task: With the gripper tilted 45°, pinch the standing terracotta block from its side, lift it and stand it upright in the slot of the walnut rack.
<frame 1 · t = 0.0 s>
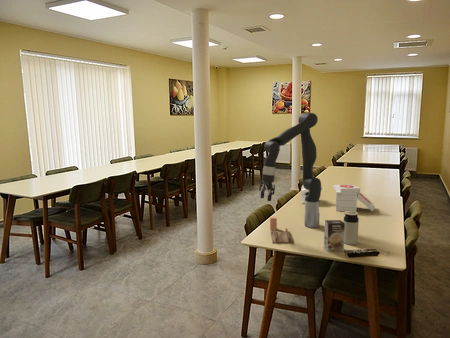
hand: (265, 199, 215), 22 cm above the table, tool pointing down, fingers open, 8 cm apart
terracotta block: (273, 229, 227), on the table
coffee box: (333, 250, 191), on the table
travel mug: (350, 242, 201), on the table
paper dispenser: (353, 209, 270), on the table
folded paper: (311, 201, 297), on the table
walnut rack: (281, 237, 211), on the table
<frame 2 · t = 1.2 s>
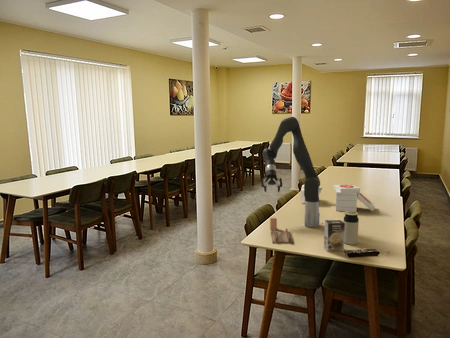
hand: (272, 191, 235), 23 cm above the table, tool tilted 45°, fingers open, 8 cm apart
nothing on the table moved.
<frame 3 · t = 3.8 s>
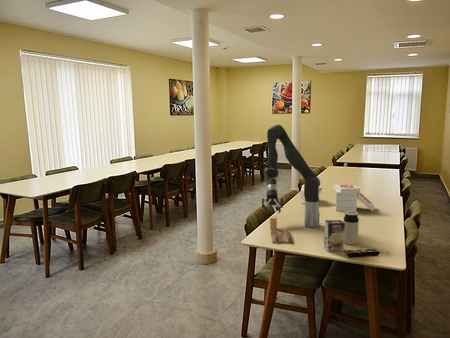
hand: (272, 212, 231), 10 cm above the table, tool tilted 45°, fingers open, 8 cm apart
nothing on the table moved.
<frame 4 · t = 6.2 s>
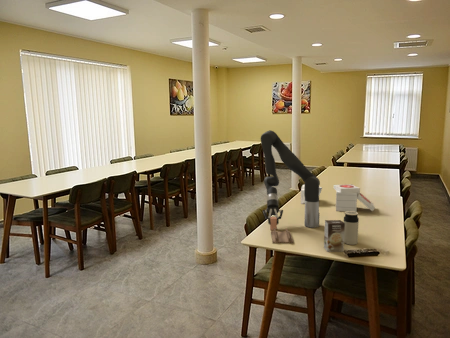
hand: (273, 224, 225), 4 cm above the table, tool tilted 45°, fingers closed on terracotta block, 4 cm apart
terracotta block: (273, 229, 227), on the table, touching gripper
everything else where it was.
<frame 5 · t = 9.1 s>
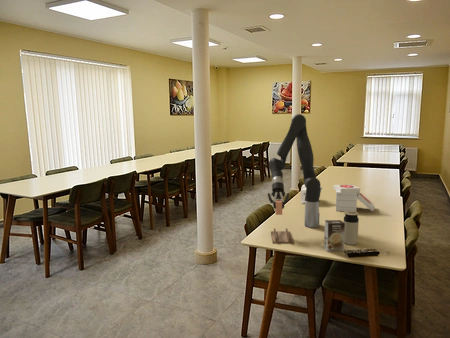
hand: (279, 208, 211), 18 cm above the table, tool tilted 45°, fingers closed on terracotta block, 4 cm apart
terracotta block: (278, 213, 214), point 14 cm above the table, touching gripper
everything else where it was.
when the fingers open (7 cm above the table, at t = 12.5 s): terracotta block drops 1 cm, resting on walnut rack.
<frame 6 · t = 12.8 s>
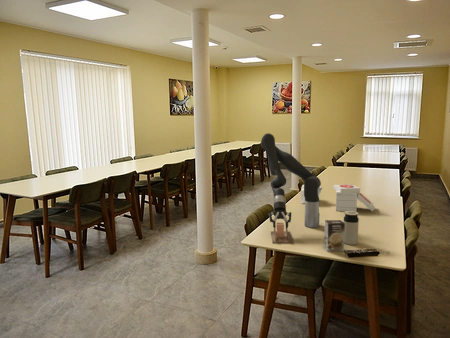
hand: (280, 227, 208), 7 cm above the table, tool tilted 45°, fingers open, 6 cm apart
terracotta block: (280, 236, 211), point 1 cm above the table, touching walnut rack
everything else where it was.
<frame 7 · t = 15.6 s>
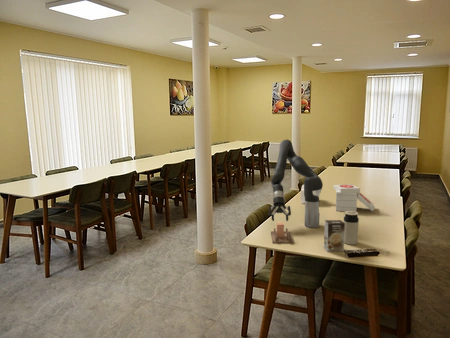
hand: (280, 220, 221), 7 cm above the table, tool tilted 45°, fingers open, 8 cm apart
nothing on the table moved.
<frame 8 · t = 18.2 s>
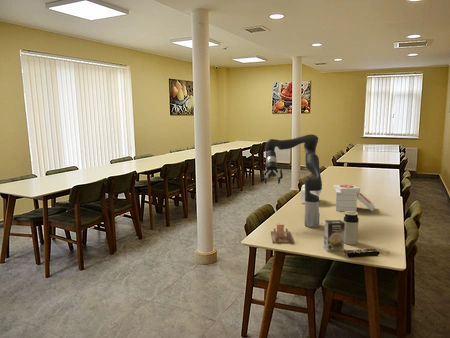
hand: (272, 183, 233), 29 cm above the table, tool tilted 45°, fingers open, 8 cm apart
nothing on the table moved.
at the end: terracotta block inside the target area on the walnut rack (0.9 cm from its centre), point 1.0 cm above the walnut rack's base; terracotta block tilted 0°; the gripper is holding nothing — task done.
